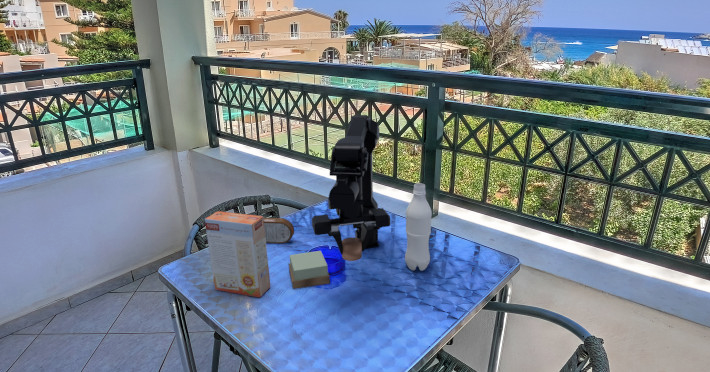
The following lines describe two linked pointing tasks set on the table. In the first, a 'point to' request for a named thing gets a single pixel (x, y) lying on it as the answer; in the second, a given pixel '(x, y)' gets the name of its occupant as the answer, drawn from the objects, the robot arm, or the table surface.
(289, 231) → the tin
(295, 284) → the tower base
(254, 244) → the cracker box
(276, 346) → the table surface
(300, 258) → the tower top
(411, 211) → the water bottle
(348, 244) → the puck
